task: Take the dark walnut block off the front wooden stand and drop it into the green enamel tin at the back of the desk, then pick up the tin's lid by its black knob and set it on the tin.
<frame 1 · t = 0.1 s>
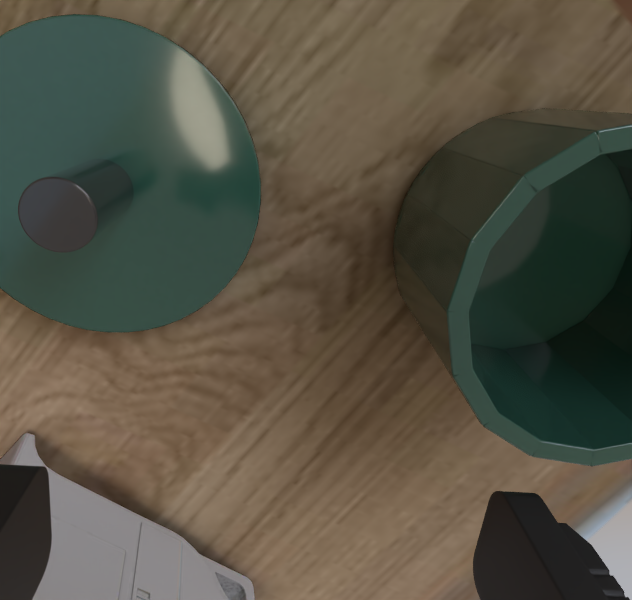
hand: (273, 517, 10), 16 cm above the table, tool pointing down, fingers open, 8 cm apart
lid: (107, 187, 22), point 1 cm above the table
handheld gaming console: (144, 526, 30), on the table
tin: (516, 242, 25), on the table
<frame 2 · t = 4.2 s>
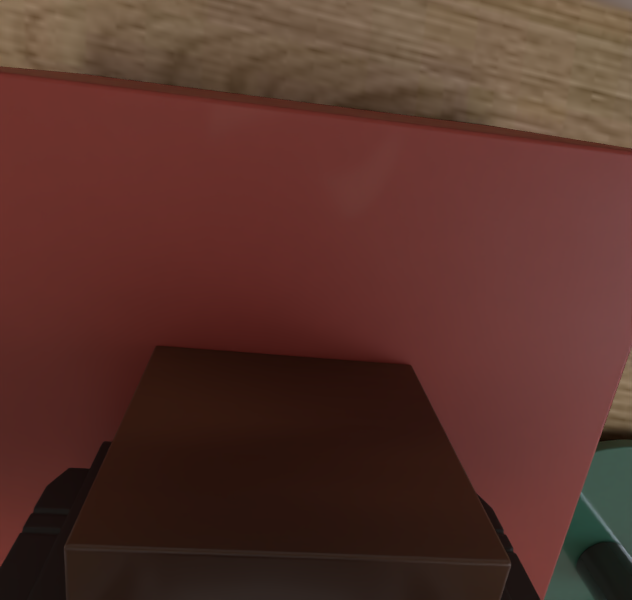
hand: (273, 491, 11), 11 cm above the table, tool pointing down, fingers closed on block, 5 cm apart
stand: (273, 296, 21), on the table
lid: (594, 551, 26), point 1 cm above the table
block: (274, 461, 12), point 10 cm above the table, touching gripper, stand
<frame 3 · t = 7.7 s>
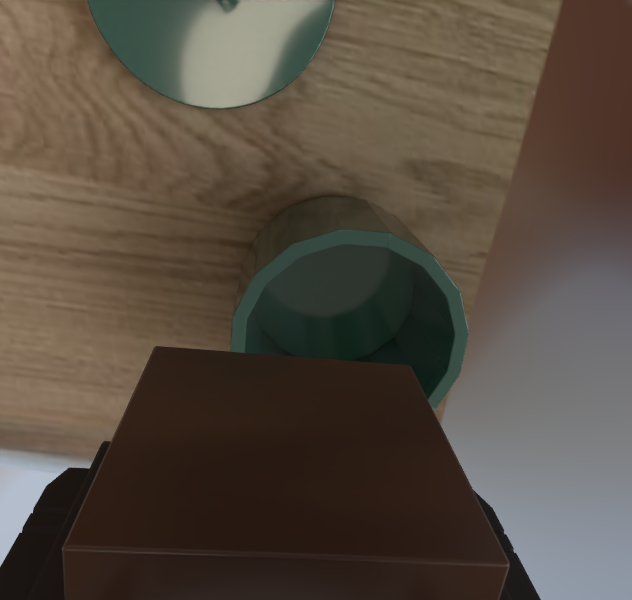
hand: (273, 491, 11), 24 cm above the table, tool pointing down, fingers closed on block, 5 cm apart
block: (273, 462, 12), point 23 cm above the table, touching gripper
tin: (333, 287, 35), on the table
when the fingers open (9 cm above the table, at t = 11.6 s): block drops 8 cm, resting on tin.
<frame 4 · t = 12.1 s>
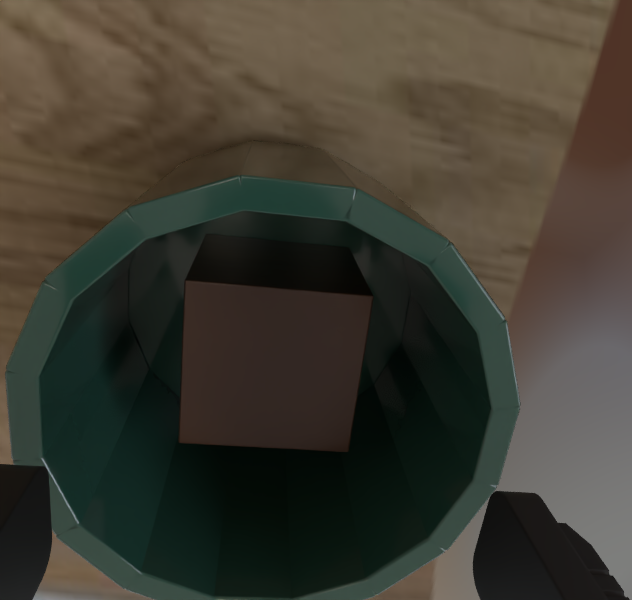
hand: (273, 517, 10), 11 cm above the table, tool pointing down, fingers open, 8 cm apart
block: (272, 307, 20), point 1 cm above the table, touching tin
tin: (271, 301, 21), on the table
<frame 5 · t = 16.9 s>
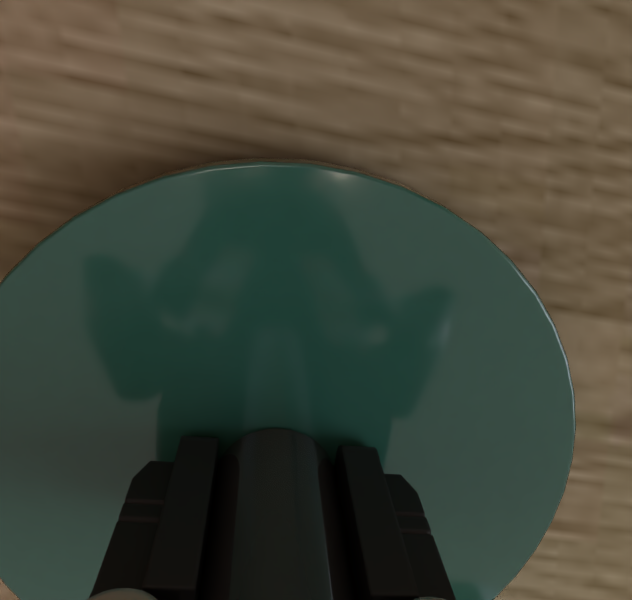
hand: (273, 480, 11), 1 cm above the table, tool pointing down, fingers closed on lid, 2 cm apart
lid: (274, 459, 12), point 1 cm above the table, touching gripper
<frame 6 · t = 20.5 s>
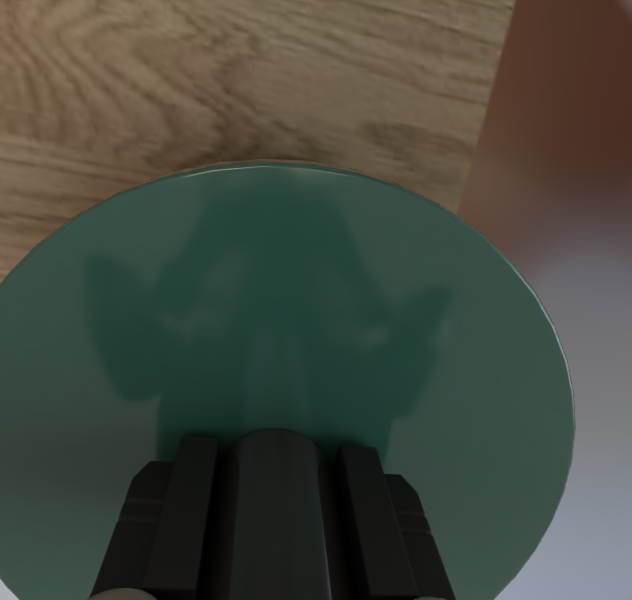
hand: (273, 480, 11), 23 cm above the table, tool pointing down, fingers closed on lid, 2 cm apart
lid: (274, 459, 12), point 22 cm above the table, touching gripper
when the fingers open (9 cm above the table, at t = 23.9 s): lid stays where it is, resting on tin.
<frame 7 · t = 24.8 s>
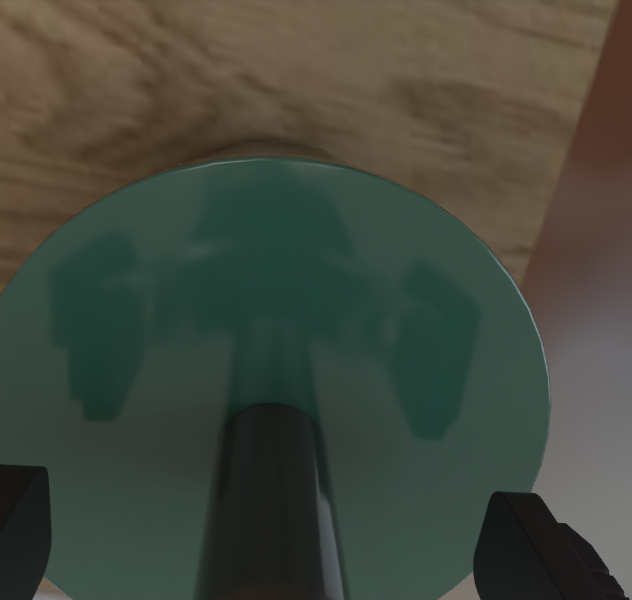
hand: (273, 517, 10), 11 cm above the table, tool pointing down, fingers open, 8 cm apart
lid: (271, 434, 13), point 8 cm above the table, touching tin
tin: (271, 302, 21), on the table
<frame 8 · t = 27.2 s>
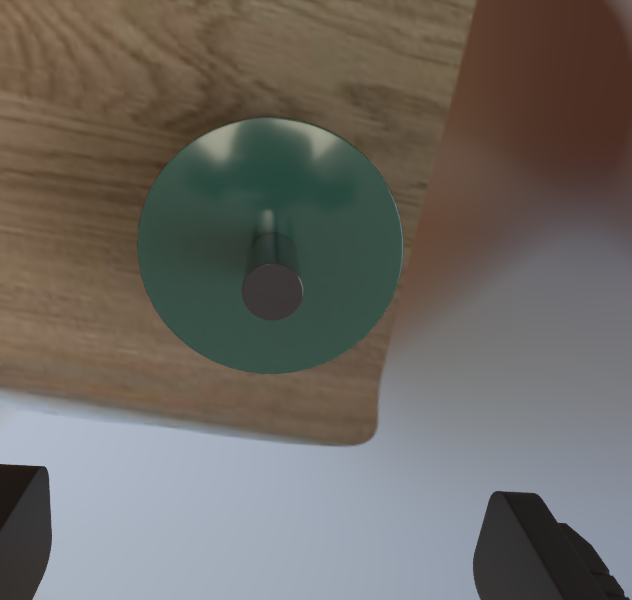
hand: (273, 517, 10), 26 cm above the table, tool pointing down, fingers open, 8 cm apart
lid: (272, 253, 27), point 8 cm above the table, touching tin
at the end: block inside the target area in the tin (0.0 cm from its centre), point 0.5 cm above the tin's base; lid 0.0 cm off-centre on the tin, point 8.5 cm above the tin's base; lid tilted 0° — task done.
